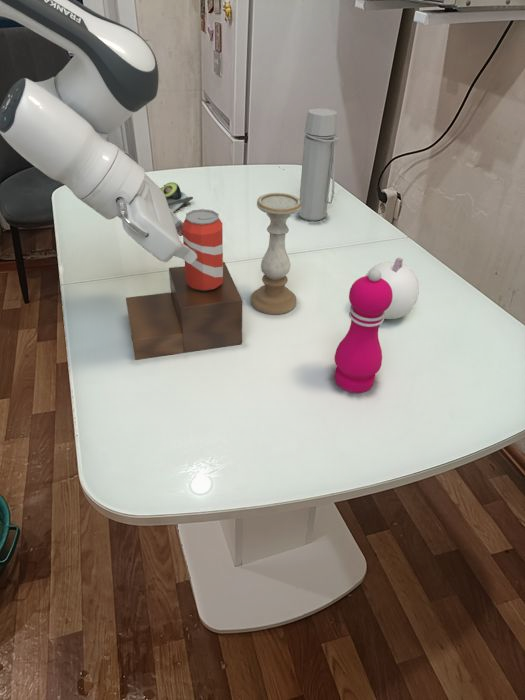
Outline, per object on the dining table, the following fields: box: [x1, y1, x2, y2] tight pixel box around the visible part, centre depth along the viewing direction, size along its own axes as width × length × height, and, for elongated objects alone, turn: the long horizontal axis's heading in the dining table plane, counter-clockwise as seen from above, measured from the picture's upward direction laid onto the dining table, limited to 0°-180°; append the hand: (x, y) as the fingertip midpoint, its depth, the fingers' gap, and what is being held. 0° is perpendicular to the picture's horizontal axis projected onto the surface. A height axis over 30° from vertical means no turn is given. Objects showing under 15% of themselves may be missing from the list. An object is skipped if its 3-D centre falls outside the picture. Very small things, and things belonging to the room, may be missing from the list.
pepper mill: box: [334, 269, 393, 394], centre depth 75 cm, size 7×7×20 cm
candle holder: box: [250, 192, 302, 315], centre depth 92 cm, size 9×9×20 cm
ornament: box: [365, 257, 420, 320], centre depth 93 cm, size 10×10×12 cm
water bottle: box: [297, 107, 340, 222], centre depth 122 cm, size 9×8×25 cm
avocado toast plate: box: [159, 181, 194, 213], centre depth 129 cm, size 19×18×5 cm
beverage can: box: [182, 208, 224, 291], centre depth 82 cm, size 6×6×12 cm
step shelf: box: [125, 261, 244, 361], centre depth 87 cm, size 18×13×9 cm
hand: (188, 244), depth 80 cm, fingers open, 8 cm apart
